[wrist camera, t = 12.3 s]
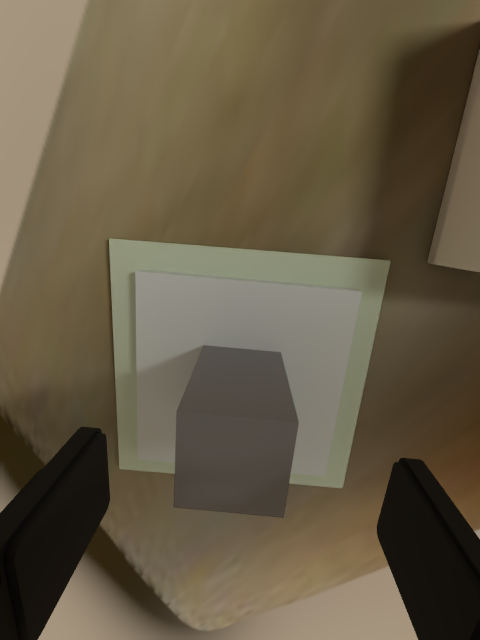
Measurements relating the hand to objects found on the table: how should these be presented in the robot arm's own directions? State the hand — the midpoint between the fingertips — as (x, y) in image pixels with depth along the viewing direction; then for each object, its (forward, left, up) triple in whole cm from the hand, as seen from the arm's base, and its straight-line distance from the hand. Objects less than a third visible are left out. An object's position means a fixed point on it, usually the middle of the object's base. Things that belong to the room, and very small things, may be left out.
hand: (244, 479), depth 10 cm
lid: (0, 0, -7) cm, 7 cm away
